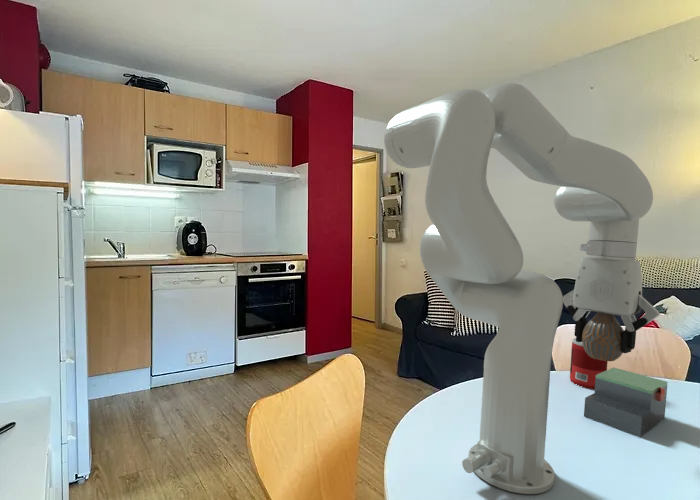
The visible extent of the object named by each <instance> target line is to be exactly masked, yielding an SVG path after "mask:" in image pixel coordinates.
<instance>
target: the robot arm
mask: <svg viewBox="0 0 700 500" xmlns="http://www.w3.org/2000/svg"><path fill="white" fill-rule="evenodd" d="M383 142H384V147H385V148H384V149H385V151H386V153H387V155H388V157H389V158H390V159H391V160H392V161H393V163H395V164H396V165H399V167H402V168H404V169H405V168H406V169H418V168H424V167H429V169H428V175H427V179H426V180H427V181H426V187H425V193H424V200H425V201H424V203H425V209H426V210H425V211H426V212H427V215H428V217H429V219H430V221H431V223H432V224H431V225H429V226H428V227H427V228H426V229H425V231H424V233H423V235H422V236H421V240H420V243H419V254H420V259H421V263H422V265H423V267H424V270H425V271H426V273H427V274H428V275H429V277H430V278H431V280H432V281H433V283H434V284H435V285H436V286H437V288H438V289H439V290H440V291H441V292H442V294H443V295H444V297H445V298H446V299H447V300H448V302H449V303H450V305H452V307H453V308H454V309H455V310H456V311H457V312H458V313H459V314H461V315H462V316H463V317H466V318H468V319H471V320H474V321H477V322H481V323H485V324H489V325H492V326H494V327H497V328H498V331H497V333H496V335H495V336H494V338H493V339H492V340H491V342H489V344H488V346H487V347H486V350H485V353H484V357H483V358H484V360H483V379H482V391H481V392H482V396H481V409H480V410H481V411H480V428H479V441H477V444H475V445H473V446H471V447H470V449H469V450H468V457H466V458H465V459H463V460H462V463H461V465H462V468H463V470H464V471H465V472H466V473H468V474H472V473H474V474H476V475H477V476H478V477H479V478H480V479H482V480H483V481H484V482H486V483H488V484H490V485H492V486H494V487H496V488H499V489H500V490H504V491H507V492H510V493H511V492H512V493H514V494H523V495H537V494H542V493H544V492H548V491H549V490H551V488H552V487H553V485H554V482H555V471H554V468H553V467H552V466H551V464H550V463H549V462H548V461H547V460H546V459H545V456H546V455H545V453H546V452H545V451H546V439H547V437H546V436H547V425H548V424H547V422H548V410H549V396H550V395H549V394H550V383H551V382H550V381H551V378H550V377H551V368H552V367H551V366H552V354H553V349H554V343H555V338H556V334H557V333H556V332H557V330H558V326H559V322H560V320H561V316H562V311H563V307H564V306H565V307H566V310H567V311H568V313H569V314H570V315H571V316H572V319H573V320H574V321H575V323H574V337H575V338H576V342H582V333H583V330H584V327H585V325H586V324H587V323H588V322H589V321H588V320H587V317H588V316H589V314H590V313H591V312H596V313H597V312H601V313H607V314H612V315H614V316H620V318H621V320H622V322H623V325H624V328H625V329H623V330H624V331H622V340H621V352H622V353H623V354H628V353H631V352H632V350H634V349H635V347H636V339H637V331H639V330H640V329H642V328H643V327H645V326H647V325H648V324H650V323H651V322H652V321H654V320H655V319H656V318H658V317H659V316H660V315H661V313H660V311H659V310H658V309H657V308H656V307H655V306H653V304H651V303H650V302H649V301H648V300H647V299H646V298H644V296H643V277H642V269H641V263H640V261H638V260H636V258H637V249H638V248H637V247H638V236H639V227H640V226H639V225H640V219H641V218H643V217H645V215H647V214H648V213H649V211H650V210H651V207H652V205H653V200H654V194H653V188H652V186H651V183H650V182H649V179H648V177H647V176H646V175H645V173H644V172H643V170H641V167H639V166H638V165H637V163H636V162H635V161H634V160H633V159H632V158H630V157H629V156H627V155H626V154H624V153H622V152H620V151H618V150H616V149H614V148H611V147H608V146H604V145H602V144H599V143H596V142H593V141H590V140H587V139H584V138H580V137H575V136H573V135H572V134H570V132H568V131H567V129H566V128H565V127H564V126H563V125H562V124H561V123H560V121H558V120H557V119H556V118H555V116H554V115H553V114H552V113H551V112H550V110H548V109H547V108H546V107H545V105H543V103H542V102H541V101H540V99H538V98H537V97H536V96H535V95H534V93H532V92H531V90H529V89H528V88H527V87H525V86H523V85H522V84H519V83H515V82H507V83H503V84H502V83H501V84H499V85H494V86H492V87H488V88H486V89H483V90H481V91H480V90H477V89H474V88H471V89H470V88H469V89H466V88H464V89H459V90H454V91H450V92H448V93H445V94H442V95H440V96H437V97H434V98H431V99H429V100H427V101H425V102H423V103H420V104H416V105H415V106H412V107H409V108H407V109H405V110H402V111H400V112H399V113H397V114H396V115H394V116H393V118H391V119H390V121H389V122H388V123H387V126H386V127H385V132H384V135H383ZM491 149H494V150H496V151H497V152H498V153H499V154H500V155H501V156H502V157H505V158H506V160H508V161H509V162H510V163H511V164H512V165H513V166H514V167H515V168H516V169H518V170H519V172H520V173H522V174H523V175H524V176H525V177H526V178H528V179H529V180H531V181H534V182H538V183H543V184H547V185H551V186H552V185H553V186H559V188H558V189H557V190H556V192H555V195H554V200H553V203H554V204H553V205H554V208H555V210H556V212H557V213H558V215H560V216H561V217H562V218H563V219H565V220H567V221H572V222H589V232H588V240H587V242H586V243H582V244H581V245H580V247H579V248H580V251H582V252H586V255H587V256H586V257H585V256H583V257H581V260H580V263H579V265H578V269H577V273H576V278H575V284H574V288H573V289H572V290H571V291H569V292H568V293H566V294H564V295H563V293H562V290H561V288H560V286H559V285H558V284H557V283H556V282H555V281H554V280H553V279H552V278H550V277H548V276H547V275H545V274H542V273H539V272H537V271H531V270H525V269H523V266H524V253H523V249H522V247H521V244H520V241H519V240H518V238H517V236H516V234H515V232H514V231H513V230H512V228H511V226H510V224H509V222H508V221H507V220H506V218H505V216H504V214H503V213H502V211H501V209H500V208H499V206H498V204H497V203H496V201H495V200H494V197H493V195H492V193H491V192H490V189H489V186H488V183H487V182H488V181H487V169H488V162H489V156H490V151H491ZM641 310H643V311H644V312H645V314H644V315H643V316H641V317H640V318H638V319H637V317H636V315H638V314H640V313H641Z"/></svg>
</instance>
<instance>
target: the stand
mask: <svg viewBox="0 0 700 500" xmlns="http://www.w3.org/2000/svg"><path fill="white" fill-rule="evenodd" d="M668 383H669V382H668V381H665V380H662V379H659V378H654V377H650V376H646V375H643V374H639V373H636V372H632V371H629V370H625V369H621V368H618V367H612V368H609V369H607V370H606V371H604V372H602V373H599V374H597V375H596V380H595V389H594V393H592V394H590V395H587V396H586V397H585V398H584V406H583V407H584V409H583V417H585V418H587V419H589V420H592V421H595V422H598V423H601V424H603V425H606V426H608V427H611V428H613V429H616V430H619V431H622V432H625V433H626V434H627V433H628V434H629V435H632V436H636V437H638V438H642V437H644V435H646V434H647V433H648V432H649V431H651V430H653V429H654V428H655V427H656V426H658V425H659V424H660V423H661V422H662V421H664V420H665V417H666V405H667V393H668Z"/></svg>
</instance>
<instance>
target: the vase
mask: <svg viewBox="0 0 700 500" xmlns="http://www.w3.org/2000/svg"><path fill="white" fill-rule="evenodd" d="M619 322H620V321H618V320H617V318H616V315H612V314H607V313H601V312H596V314H595V315H594V316H593V317H592V318H591V319H590V320H589V321H588V323H587V324H586V325H585V327H584V330H583V333H582V344H583V347H584V350H585V351H586V353H587V354H588V355H589V356H590V357H592V358H594V359H598V360H603V361H608V362H615V361H616V360H618V359H619V358H621V356H622V355H623V354H624V353H622V352H621V340H622V331H624V330H625V329H624V328H623V327H622V325H621V324H620V323H619Z"/></svg>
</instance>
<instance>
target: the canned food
mask: <svg viewBox="0 0 700 500" xmlns="http://www.w3.org/2000/svg"><path fill="white" fill-rule="evenodd" d="M571 341H572V342H571V352H570V368H569V379H570V382H571V383H572V382H573V383H574V385H575V384H577V385H576V386H578V385H579V386H578V387H580V386H582V387H581V388H584V387H585V388H584V389H588V388H589V390H595V380H596V375H597V374H599V373H602V372H604V371H606V370H608V363H609V361H603V360H598V359H594V358H592V357H590V356H589V355H588V354H587V353H586V351H585V350H584V347H583V344H582V342H576V337H575V338H573V339H572V340H571ZM573 383H572V384H573Z"/></svg>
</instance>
